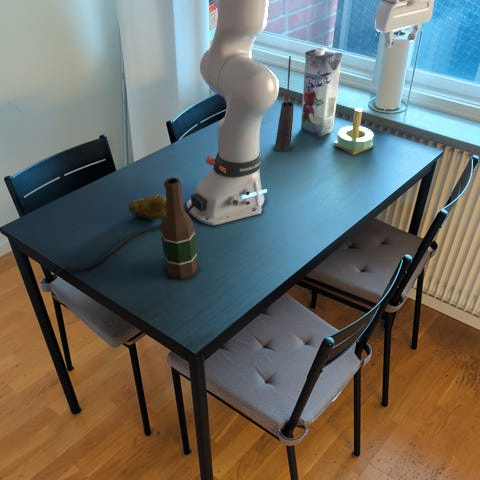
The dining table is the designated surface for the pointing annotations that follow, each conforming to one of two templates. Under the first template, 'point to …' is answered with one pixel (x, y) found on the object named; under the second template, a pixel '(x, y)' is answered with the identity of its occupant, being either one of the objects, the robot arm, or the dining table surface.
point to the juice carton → (320, 90)
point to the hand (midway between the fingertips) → (399, 43)
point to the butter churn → (285, 122)
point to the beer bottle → (178, 234)
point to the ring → (355, 139)
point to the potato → (149, 207)
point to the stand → (354, 131)
